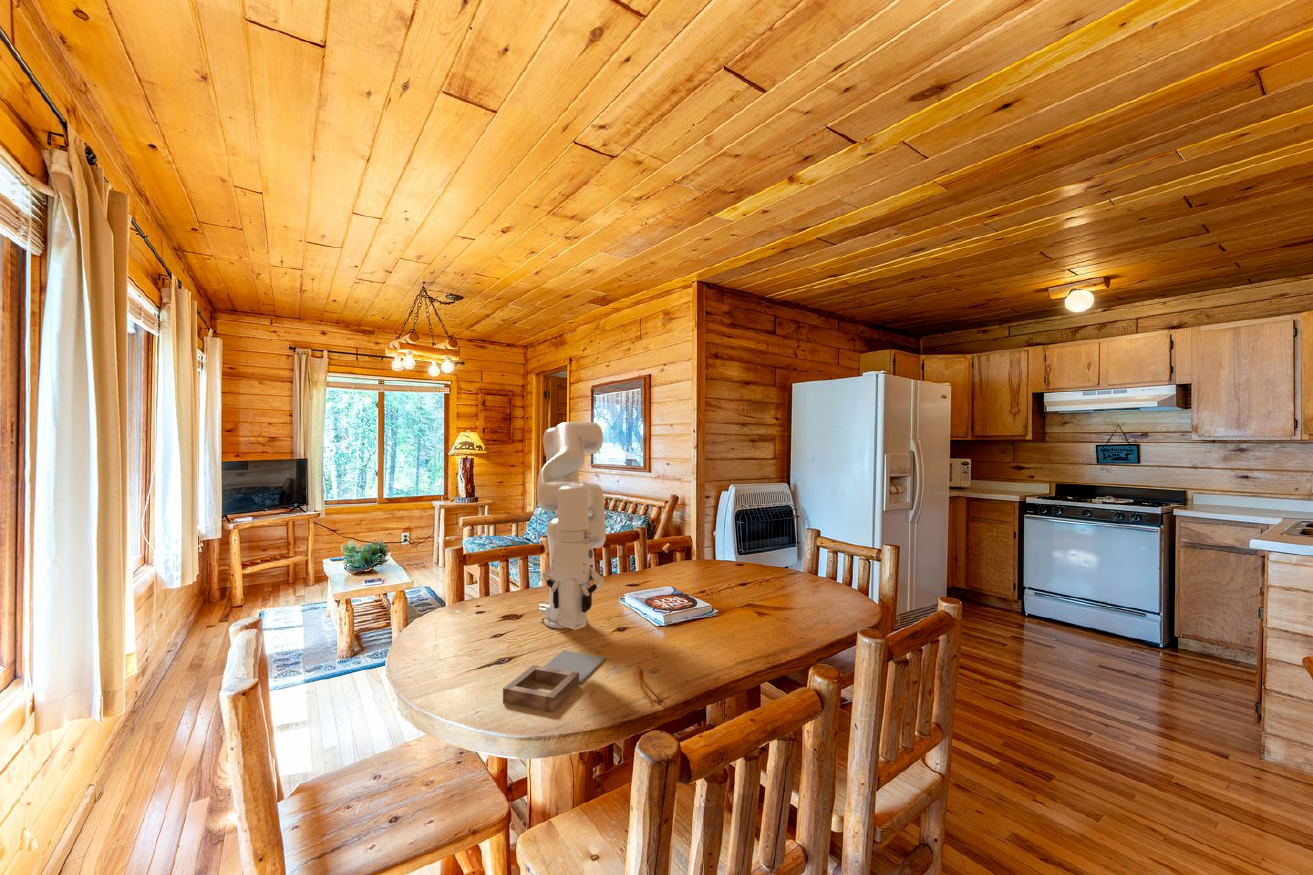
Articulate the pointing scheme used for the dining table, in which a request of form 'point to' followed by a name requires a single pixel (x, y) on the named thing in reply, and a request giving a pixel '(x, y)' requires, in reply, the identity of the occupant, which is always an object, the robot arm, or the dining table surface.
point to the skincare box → (571, 605)
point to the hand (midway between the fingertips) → (572, 608)
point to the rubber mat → (576, 663)
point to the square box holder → (540, 699)
